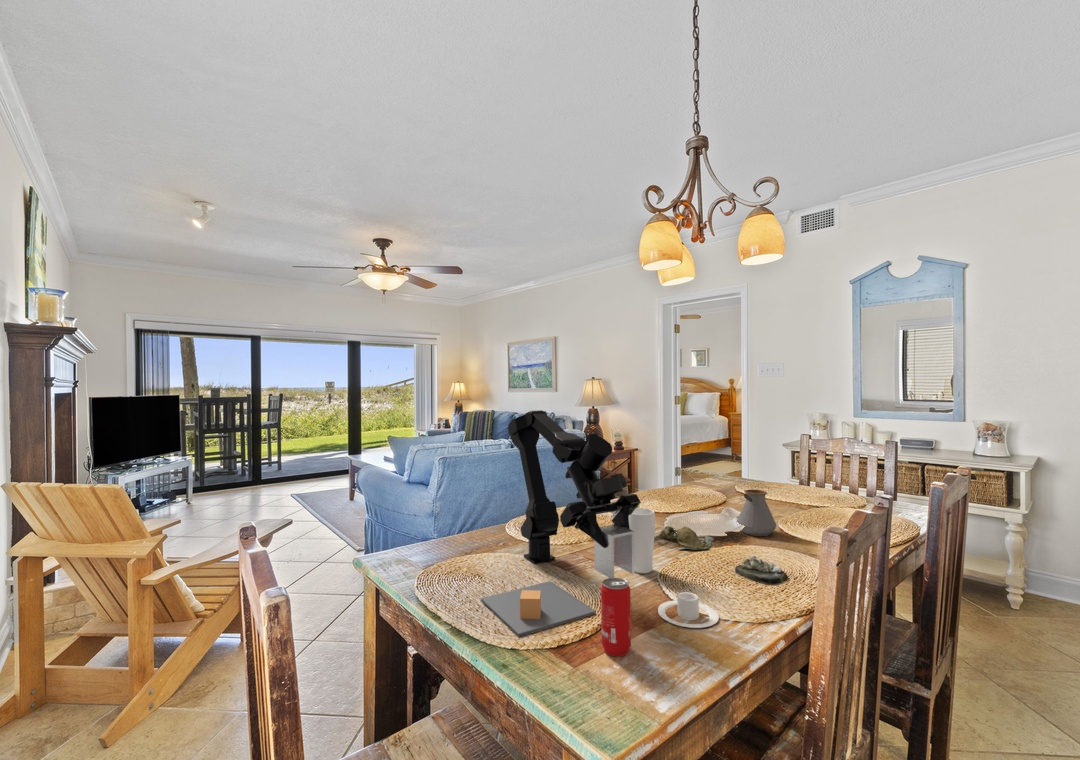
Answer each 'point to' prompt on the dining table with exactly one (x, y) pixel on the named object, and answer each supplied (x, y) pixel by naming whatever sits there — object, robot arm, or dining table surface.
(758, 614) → the dining table surface
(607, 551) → the steel cover
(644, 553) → the drinking glass
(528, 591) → the orange block
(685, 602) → the candle holder
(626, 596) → the beverage can
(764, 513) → the coffee pot
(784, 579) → the stone carving
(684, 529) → the olive green lumpy piece
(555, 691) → the dining table surface
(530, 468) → the robot arm
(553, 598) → the slate board
